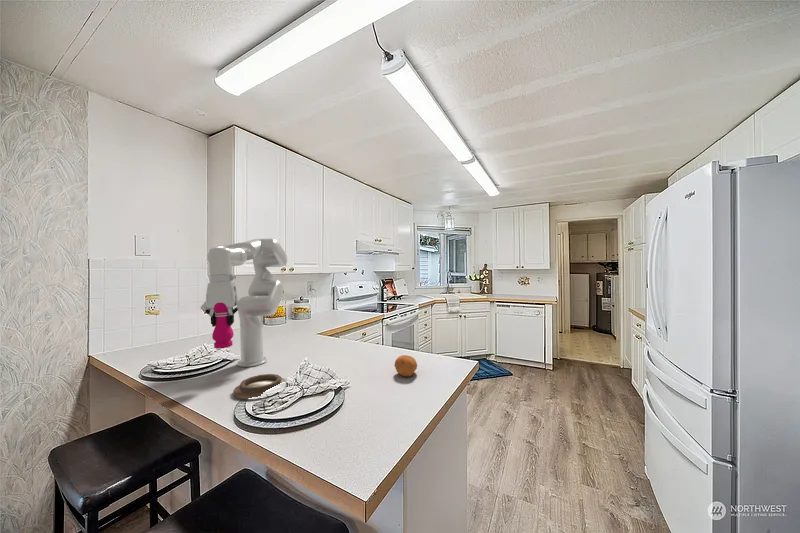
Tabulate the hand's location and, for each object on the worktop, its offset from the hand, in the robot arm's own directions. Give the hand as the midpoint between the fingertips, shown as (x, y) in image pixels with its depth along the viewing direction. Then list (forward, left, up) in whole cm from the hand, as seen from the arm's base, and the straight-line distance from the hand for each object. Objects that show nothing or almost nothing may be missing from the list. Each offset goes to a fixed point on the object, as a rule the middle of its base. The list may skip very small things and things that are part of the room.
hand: (222, 324), depth 118 cm
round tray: (+12, +16, -23) cm, 30 cm away
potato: (+12, +71, -23) cm, 75 cm away
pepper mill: (0, 0, -9) cm, 9 cm away
